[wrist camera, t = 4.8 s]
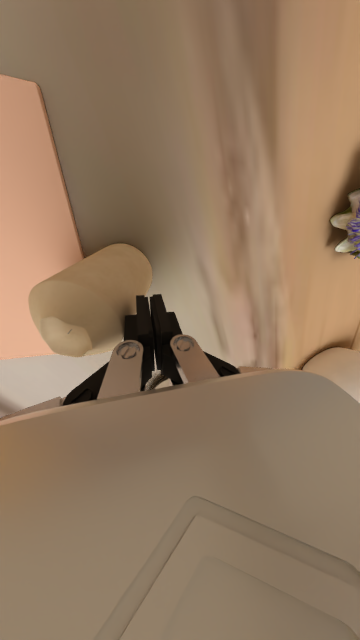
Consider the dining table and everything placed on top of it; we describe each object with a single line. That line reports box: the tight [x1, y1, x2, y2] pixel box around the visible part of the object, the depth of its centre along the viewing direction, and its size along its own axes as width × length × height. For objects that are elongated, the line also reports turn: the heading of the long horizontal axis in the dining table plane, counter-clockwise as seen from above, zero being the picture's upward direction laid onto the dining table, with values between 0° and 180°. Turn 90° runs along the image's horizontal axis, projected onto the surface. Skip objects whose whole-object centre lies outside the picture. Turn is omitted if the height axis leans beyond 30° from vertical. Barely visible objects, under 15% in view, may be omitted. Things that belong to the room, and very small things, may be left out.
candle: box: [28, 243, 153, 357], centre depth 12 cm, size 6×6×10 cm
